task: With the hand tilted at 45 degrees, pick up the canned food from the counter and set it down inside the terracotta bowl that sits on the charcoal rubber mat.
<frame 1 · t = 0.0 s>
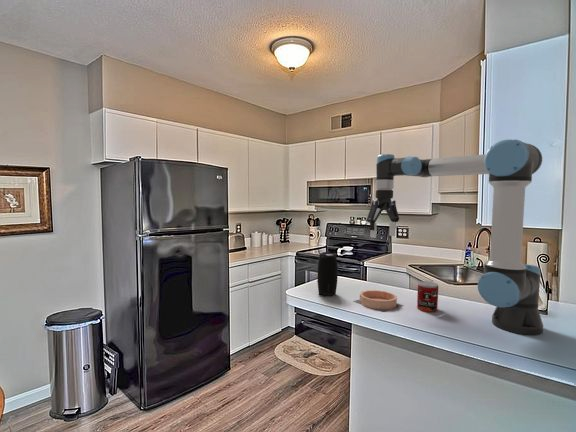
hand: (382, 236, 148), 28 cm above the table, tool pointing down, fingers open, 13 cm apart
portable speaker: (327, 295, 152), on the table
bowl: (378, 303, 140), resting on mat
beer can: (500, 304, 143), on the table
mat: (377, 304, 140), on the table
canned food: (427, 310, 134), on the table
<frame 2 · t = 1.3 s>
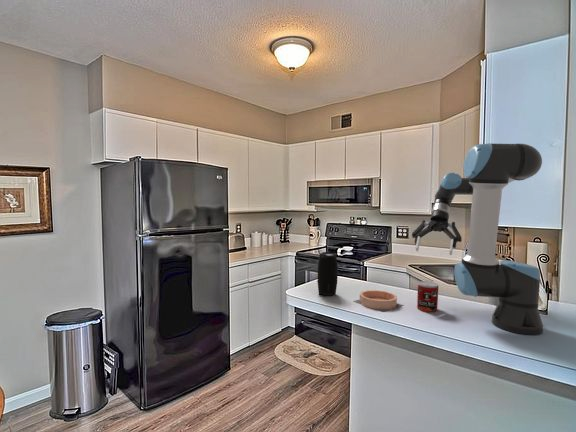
hand: (433, 251, 141), 23 cm above the table, tool tilted 45°, fingers open, 13 cm apart
nothing on the table moved.
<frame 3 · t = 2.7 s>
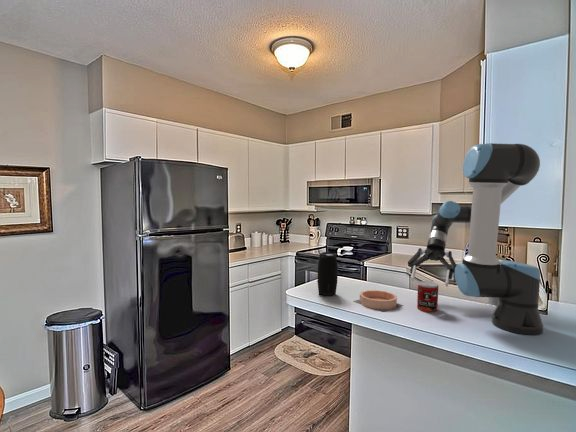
hand: (428, 282, 138), 10 cm above the table, tool tilted 45°, fingers open, 13 cm apart
nothing on the table moved.
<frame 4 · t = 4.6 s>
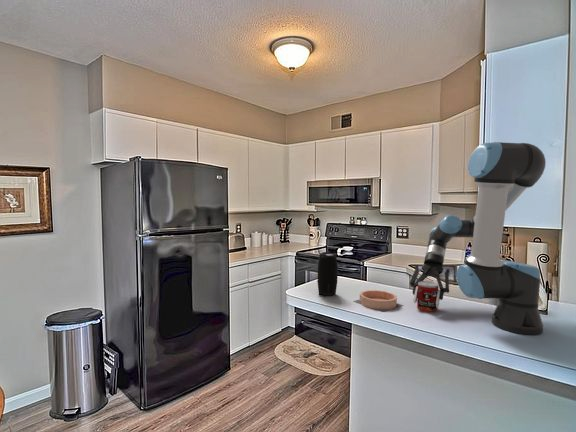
hand: (425, 303, 131), 4 cm above the table, tool tilted 45°, fingers closed on canned food, 8 cm apart
canned food: (426, 310, 134), on the table, touching gripper
everything else where it was.
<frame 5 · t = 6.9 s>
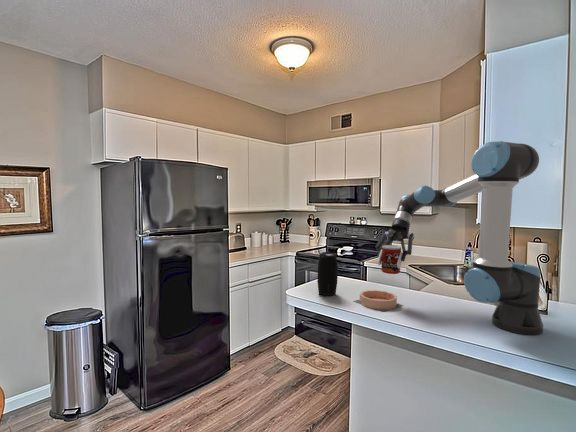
hand: (388, 265, 137), 17 cm above the table, tool tilted 45°, fingers closed on canned food, 8 cm apart
canned food: (390, 272, 140), point 14 cm above the table, touching gripper
everything else where it was.
when the fingers open (6 cm above the table, at t = 9.6 s): canned food drops 1 cm, resting on bowl.
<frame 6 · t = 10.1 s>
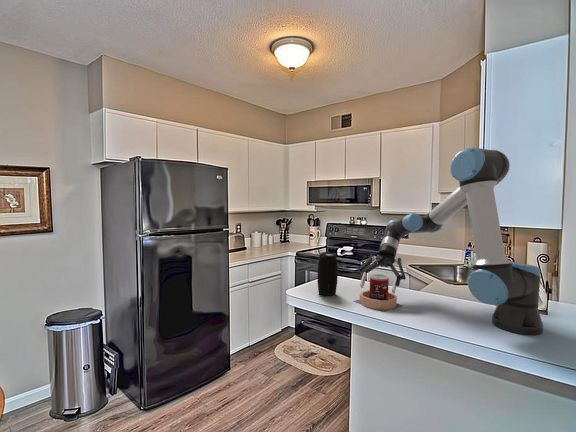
hand: (376, 289, 137), 7 cm above the table, tool tilted 45°, fingers open, 13 cm apart
canned food: (378, 302, 140), point 1 cm above the table, touching bowl
everything else where it was.
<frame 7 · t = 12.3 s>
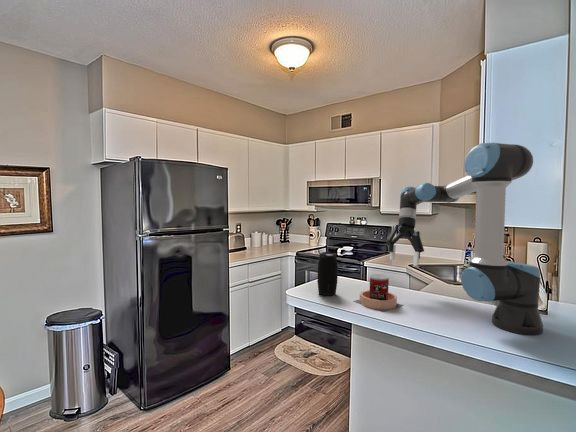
hand: (403, 262, 150), 16 cm above the table, tool tilted 20°, fingers open, 13 cm apart
nothing on the table moved.
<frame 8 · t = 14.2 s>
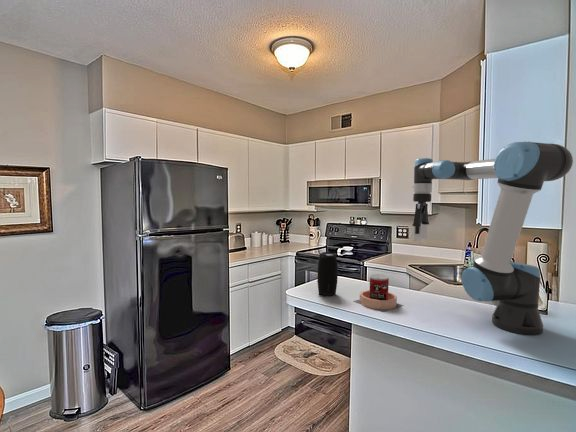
hand: (420, 239, 149), 27 cm above the table, tool pointing down, fingers open, 13 cm apart
nothing on the table moved.
at the end: canned food inside the target area on the bowl (0.2 cm from its centre), point 0.4 cm above the bowl's base; canned food tilted 0°; the gripper is holding nothing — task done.
